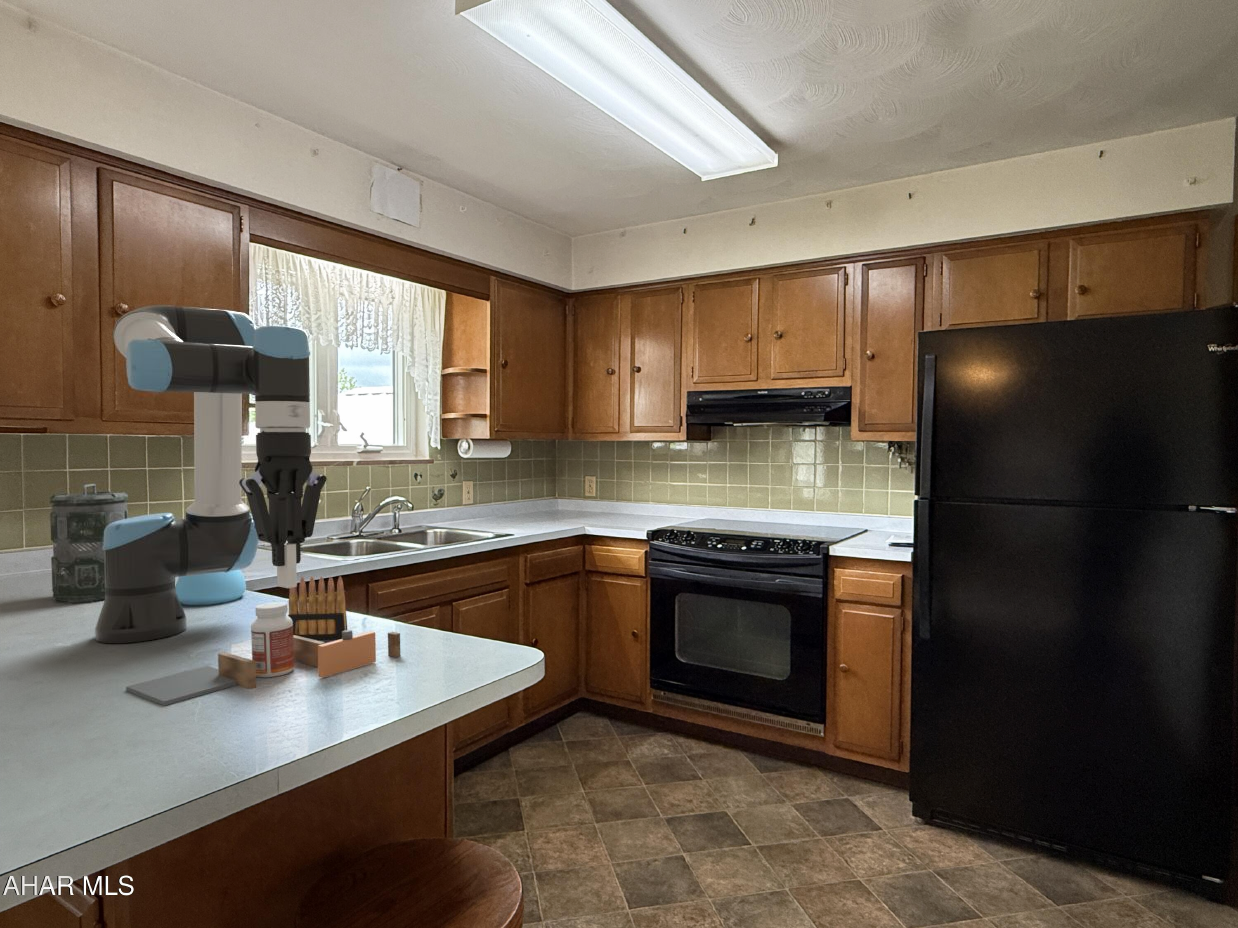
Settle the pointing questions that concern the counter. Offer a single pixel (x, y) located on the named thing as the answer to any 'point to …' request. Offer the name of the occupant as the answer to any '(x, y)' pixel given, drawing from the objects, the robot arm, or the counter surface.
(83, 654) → the counter surface
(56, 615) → the counter surface
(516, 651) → the counter surface
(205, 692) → the mat
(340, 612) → the ammunition clip
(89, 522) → the canister
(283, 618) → the pill bottle
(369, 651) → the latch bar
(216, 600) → the sugar bowl
